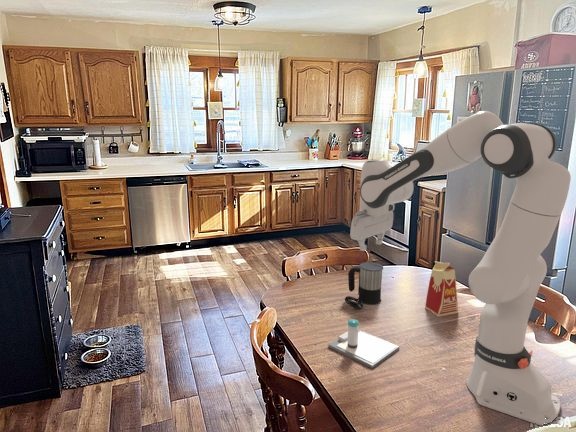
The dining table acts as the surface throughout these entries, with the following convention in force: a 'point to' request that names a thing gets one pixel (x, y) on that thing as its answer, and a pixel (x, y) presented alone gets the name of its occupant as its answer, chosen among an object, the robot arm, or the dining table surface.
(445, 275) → the milk carton
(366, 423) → the dining table surface
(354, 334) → the glue stick
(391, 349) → the clipboard
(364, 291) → the milk frother
